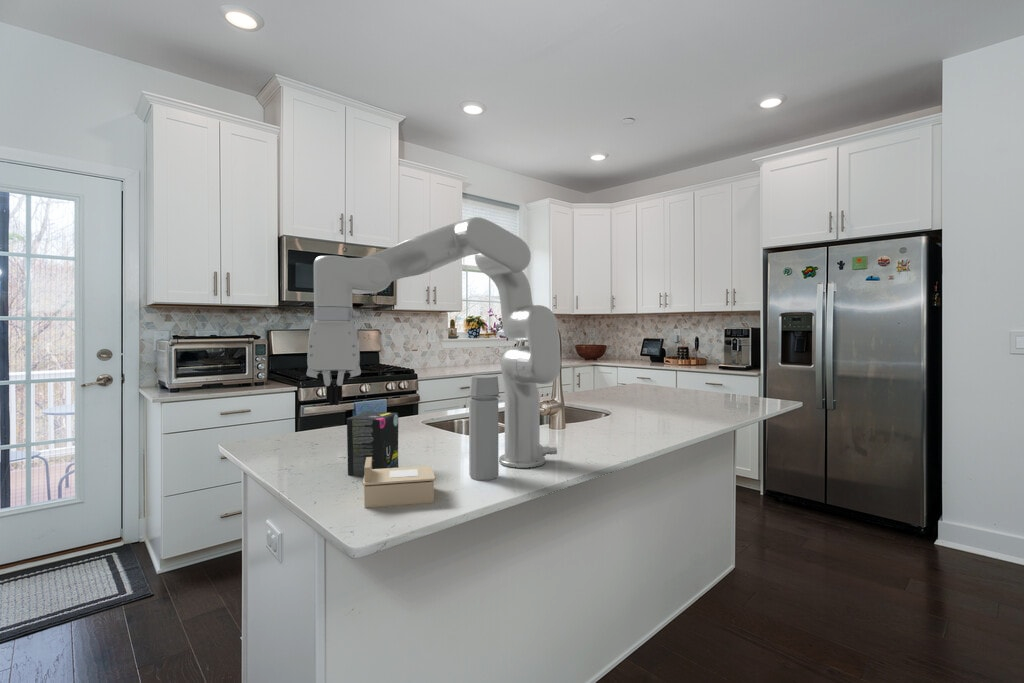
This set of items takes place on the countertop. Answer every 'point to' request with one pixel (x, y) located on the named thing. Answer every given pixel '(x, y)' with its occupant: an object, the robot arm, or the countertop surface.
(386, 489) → the mailer box
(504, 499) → the countertop surface
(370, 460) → the lid
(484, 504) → the countertop surface
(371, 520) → the countertop surface
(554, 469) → the countertop surface
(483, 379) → the water bottle
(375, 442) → the tampon box
